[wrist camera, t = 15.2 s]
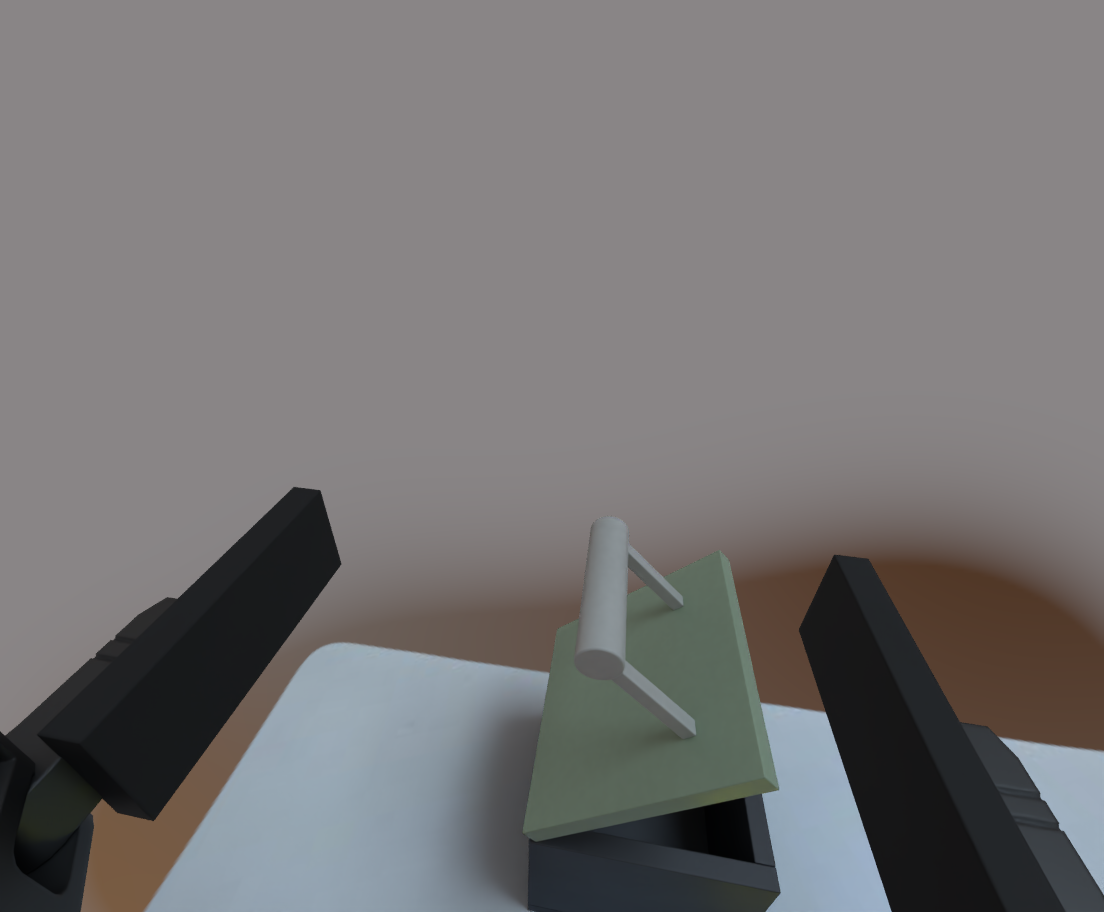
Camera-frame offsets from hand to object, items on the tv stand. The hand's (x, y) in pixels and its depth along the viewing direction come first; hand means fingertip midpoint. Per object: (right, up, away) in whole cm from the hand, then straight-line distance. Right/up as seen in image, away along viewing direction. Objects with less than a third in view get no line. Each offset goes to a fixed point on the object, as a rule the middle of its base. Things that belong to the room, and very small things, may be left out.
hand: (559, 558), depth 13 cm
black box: (+5, -22, +21) cm, 31 cm away
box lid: (+4, -10, +13) cm, 17 cm away
